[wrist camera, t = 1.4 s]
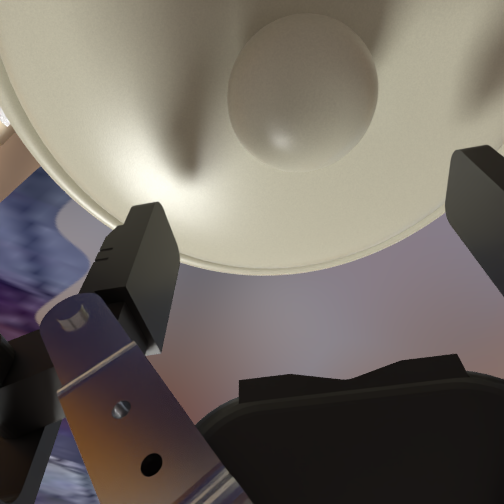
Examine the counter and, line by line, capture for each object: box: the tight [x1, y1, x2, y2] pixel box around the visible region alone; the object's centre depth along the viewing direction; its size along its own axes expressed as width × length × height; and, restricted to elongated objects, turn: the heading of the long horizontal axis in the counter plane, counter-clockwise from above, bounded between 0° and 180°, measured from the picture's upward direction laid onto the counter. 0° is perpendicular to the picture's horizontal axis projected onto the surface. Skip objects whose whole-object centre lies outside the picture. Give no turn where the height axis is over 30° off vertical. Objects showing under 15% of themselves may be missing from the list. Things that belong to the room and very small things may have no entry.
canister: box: [0, 0, 504, 276], centre depth 16 cm, size 18×18×21 cm
